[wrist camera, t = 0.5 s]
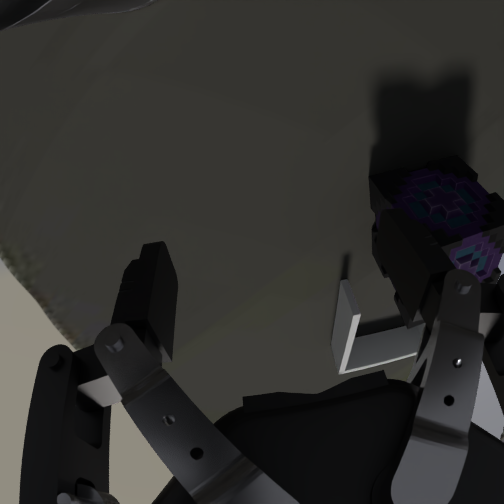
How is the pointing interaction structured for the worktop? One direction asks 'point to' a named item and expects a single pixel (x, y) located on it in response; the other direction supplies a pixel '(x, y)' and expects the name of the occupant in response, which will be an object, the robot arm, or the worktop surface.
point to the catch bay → (367, 338)
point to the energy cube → (445, 216)
